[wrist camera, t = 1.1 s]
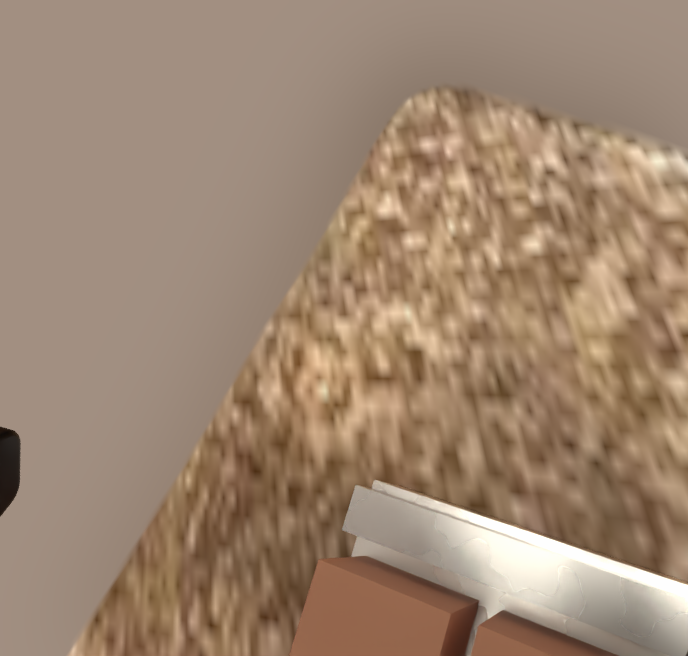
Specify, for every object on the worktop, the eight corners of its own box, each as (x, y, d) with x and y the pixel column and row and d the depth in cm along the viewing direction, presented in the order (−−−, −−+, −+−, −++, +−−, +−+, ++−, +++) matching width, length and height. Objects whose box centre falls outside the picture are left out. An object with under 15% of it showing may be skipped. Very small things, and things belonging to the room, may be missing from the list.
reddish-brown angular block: (444, 733, 20) (407, 775, 16) (330, 676, 22) (273, 703, 18) (479, 600, 21) (451, 614, 17) (365, 555, 22) (318, 559, 19)
